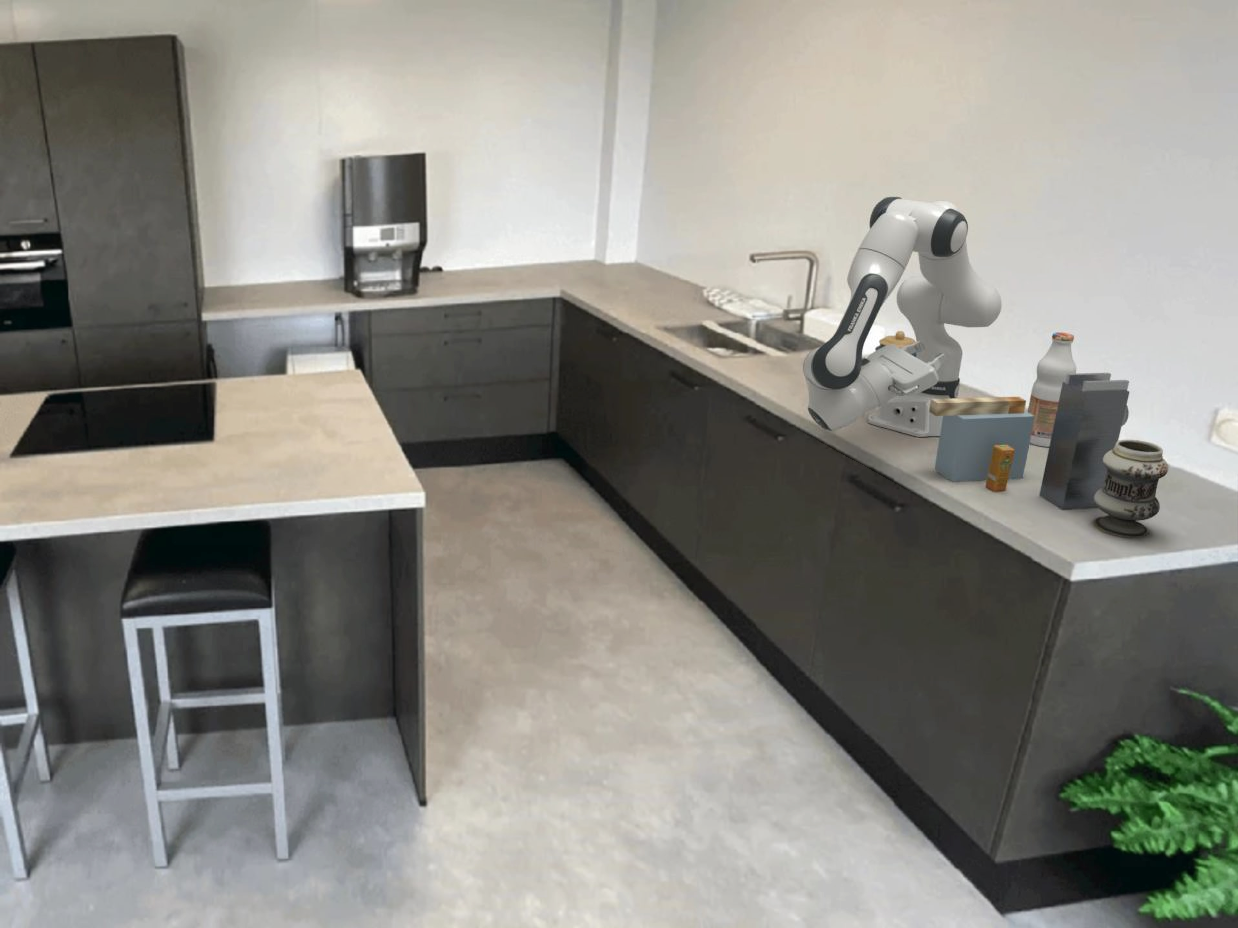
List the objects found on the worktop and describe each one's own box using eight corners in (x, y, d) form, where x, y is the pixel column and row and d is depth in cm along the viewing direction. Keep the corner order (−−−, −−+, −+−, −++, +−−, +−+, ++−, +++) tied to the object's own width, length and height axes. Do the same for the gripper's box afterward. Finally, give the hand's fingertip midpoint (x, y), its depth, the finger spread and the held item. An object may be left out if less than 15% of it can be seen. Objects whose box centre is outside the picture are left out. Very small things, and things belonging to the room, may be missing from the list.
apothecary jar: (1113, 512, 210) (1132, 432, 204) (1166, 534, 201) (1187, 451, 194) (1075, 521, 205) (1094, 439, 199) (1127, 544, 195) (1148, 459, 189)
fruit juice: (1014, 437, 255) (1034, 330, 245) (1043, 434, 258) (1064, 329, 249) (1040, 449, 247) (1062, 339, 237) (1069, 446, 250) (1093, 338, 240)
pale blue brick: (952, 481, 224) (963, 419, 218) (934, 469, 231) (944, 408, 225) (1022, 478, 227) (1035, 416, 222) (1002, 465, 235) (1014, 405, 229)
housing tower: (1062, 509, 211) (1089, 383, 201) (1039, 495, 218) (1064, 372, 208) (1110, 506, 213) (1140, 382, 203) (1086, 492, 221) (1113, 371, 211)
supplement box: (994, 492, 219) (1002, 449, 215) (984, 486, 222) (992, 444, 218) (1007, 491, 219) (1015, 449, 216) (997, 485, 223) (1005, 443, 219)
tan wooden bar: (935, 416, 219) (937, 403, 218) (929, 411, 222) (931, 399, 221) (1023, 413, 224) (1026, 400, 223) (1016, 409, 227) (1018, 396, 226)
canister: (907, 398, 284) (916, 338, 278) (864, 390, 291) (871, 331, 284) (920, 388, 295) (929, 330, 289) (877, 380, 301) (885, 324, 295)
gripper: (896, 385, 205) (954, 351, 205) (854, 358, 223) (906, 326, 223) (907, 410, 208) (963, 376, 208) (864, 380, 226) (915, 349, 226)
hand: (933, 350), depth 216 cm, fingers open, 8 cm apart
